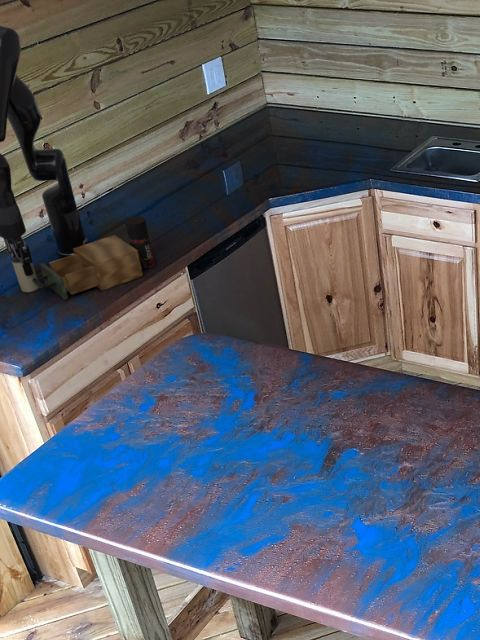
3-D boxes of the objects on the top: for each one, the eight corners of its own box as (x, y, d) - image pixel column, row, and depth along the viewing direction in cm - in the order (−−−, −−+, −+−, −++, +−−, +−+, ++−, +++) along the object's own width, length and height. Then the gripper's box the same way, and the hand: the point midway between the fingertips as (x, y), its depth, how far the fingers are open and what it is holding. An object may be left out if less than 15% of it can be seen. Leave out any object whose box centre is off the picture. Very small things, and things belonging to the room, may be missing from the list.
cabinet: (101, 290, 275) (94, 264, 270) (80, 274, 284) (72, 248, 279) (143, 275, 283) (137, 249, 277) (121, 260, 291) (114, 234, 286)
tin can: (18, 288, 278) (8, 258, 271) (35, 282, 280) (26, 252, 274) (25, 294, 274) (15, 264, 268) (43, 288, 277) (33, 258, 271)
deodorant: (149, 269, 286) (139, 225, 277) (132, 268, 287) (121, 223, 278) (158, 261, 290) (148, 217, 281) (140, 260, 291) (130, 215, 282)
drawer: (50, 304, 267) (43, 283, 263) (31, 288, 275) (24, 268, 271) (104, 285, 276) (98, 265, 272) (84, 270, 284) (78, 250, 280)
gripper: (30, 222, 261) (47, 275, 272) (10, 207, 270) (27, 260, 280) (5, 230, 257) (22, 283, 268) (-15, 215, 266) (3, 268, 276)
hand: (25, 271), depth 274 cm, fingers closed on tin can, 5 cm apart
